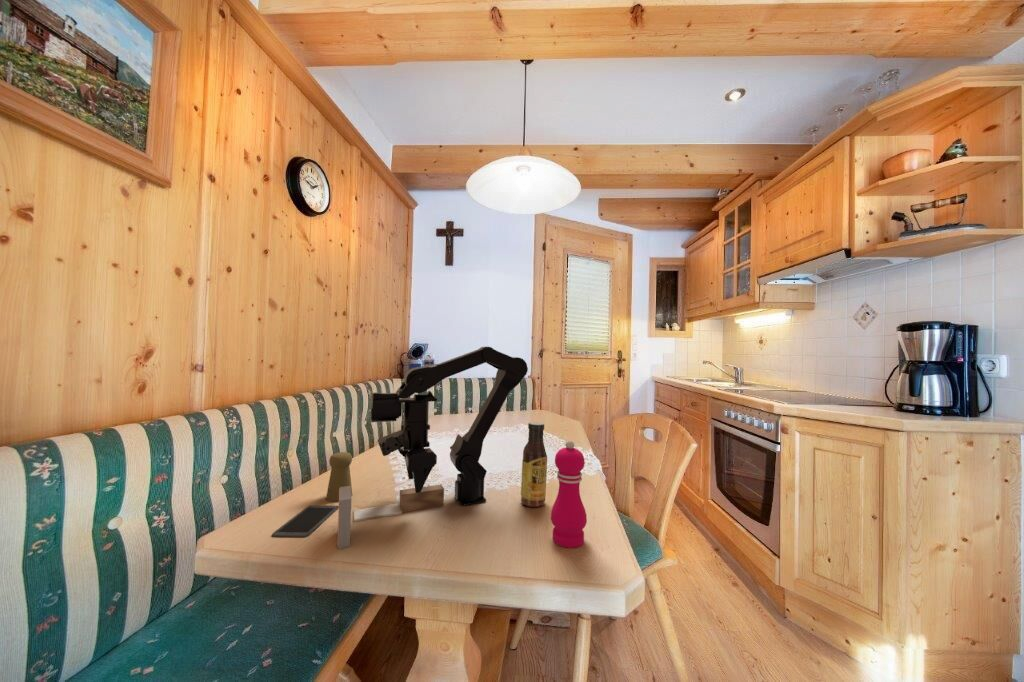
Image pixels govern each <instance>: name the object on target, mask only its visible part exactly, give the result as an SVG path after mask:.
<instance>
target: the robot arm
mask: <svg viewBox="0 0 1024 682" xmlns="http://www.w3.org/2000/svg"><path fill="white" fill-rule="evenodd" d="M483 364H487V365H489V366H491V367H493V368H494V369H497V370H496V375H495V379H494V384H493V387H492V388H491V390H490V391H489V393H488V396H487V397H486V399H485V401H484V403H483V405H482V406H481V408H480V409H479V411H478V414H476V416H475V419H474V421H473V423H472V424H471V426H470V428H469V430H468V431H467V432H466V433H464V435H463V436H461V435H460V434H459V433H458V434H457V435H456V437H455V439H454V440H455V441H454V442H453V444H451V446H450V447H449V449H450V452H449V459H450V461H451V463H452V464H453V466H454V467H455V469H456V470H457V471H458V472H459V473H457V475H456V476H457V477H456V480H455V481H454V498H455V500H456V501H458V503H459V505H461V506H468V505H474V504H475V505H476V504H480V503H486V502H487V499H486V497H485V496H484V495H485V494H484V493H485V478H486V475H487V472H488V471H487V470H486V468H485V467H484V466H483V465H482V464H481V463H480V462H479V461H480V458H481V455H482V451H483V443H484V441H485V439H486V436H487V435H488V433H489V431H490V429H491V427H492V425H493V423H494V422H495V420H496V418H497V416H498V414H499V413H500V410H501V409H502V407H503V405H504V403H505V401H506V400H507V398H508V396H509V394H510V393H511V392H512V391H513V390H514V389H515V388H516V387H517V386H518V385H519V384H520V383H521V382H522V380H524V378H525V377H526V375H527V374H528V370H529V367H528V363H527V362H526V360H525V359H523V358H522V357H518V356H517V357H516V356H515V357H514V356H510V355H508V354H505V353H503V352H500V351H499V350H497V349H494V348H493V347H492V346H480V347H479V348H478V349H476V350H473V351H470V352H467V353H465V354H462V355H458V356H457V357H453V358H450V359H447V360H445V361H442V362H440V363H435V364H429V365H422V366H418V367H412V368H410V369H408V370H407V371H406V373H405V375H404V378H403V381H404V382H402V384H401V385H400V387H398V388H397V390H396V392H377V391H376V392H373V393H372V403H371V407H370V411H371V412H370V423H384V422H397V421H398V420H397V419H399V418H400V417H402V412H403V422H402V423H401V425H400V429H399V430H397V431H395V432H392V433H389V434H386V435H384V436H382V437H380V438H379V439H377V444H378V445H379V448H380V451H381V454H382V456H383V457H386V456H389V455H390V454H391V453H393V452H396V451H398V452H399V454H401V455H402V456H403V458H404V461H405V466H406V472H407V475H408V480H413V484H414V488H415V492H416V493H420V492H421V490H422V488H423V487H425V486H424V485H425V483H426V481H427V480H428V478H429V475H430V473H431V471H432V470H433V468H434V467H435V466H436V465H437V464H438V463H437V462H438V461H437V459H438V458H437V457H438V456H437V454H436V452H434V450H432V449H431V448H430V444H431V443H430V441H429V431H430V430H431V425H430V424H429V410H430V408H429V406H430V405H429V404H430V403H429V402H437V401H438V398H437V397H435V396H434V394H433V392H432V391H430V389H431V388H433V387H434V386H436V385H437V384H439V383H440V382H442V381H443V380H445V379H447V378H449V377H451V376H454V375H457V374H459V373H462V372H465V371H467V370H471V369H473V368H475V367H479V366H480V365H483ZM426 391H427V392H426ZM425 392H426V393H425ZM411 396H413V397H411ZM403 403H404V404H403ZM403 406H404V407H403ZM402 410H403V411H402Z"/></svg>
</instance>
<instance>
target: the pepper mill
mask: <svg viewBox="0 0 1024 682" xmlns="http://www.w3.org/2000/svg"><path fill="white" fill-rule="evenodd" d="M554 457H555V458H554V464H555V467H556V468H557V469H558V470H557V471H556V474H557V475H556V479H557V480H558V485H559V486H558V492H557V495H556V499H555V500H554V503H553V504H552V509H551V511H550V521H551V523H552V525H553V526H554V527H553V528H552V540H553V542H554V543H555V544H556V543H557V544H556V545H558V546H560V547H562V546H563V548H566V547H568V549H569V548H570V549H574V548H575V547H576V548H579V547H581V546H582V545H583V544H584V542H585V531H584V529H585V527H586V525H587V521H588V520H587V519H588V518H587V513H586V512H587V511H586V508H585V506H584V503H583V501H582V498H581V494H580V493H581V492H580V485H581V484H580V483H581V482H582V480H583V479H582V476H583V473H582V472H581V471H582V470H584V467H585V465H586V464H585V463H586V462H585V456H584V454H583V452H582V451H580V450H579V449H578V448H576V447H575V443H574V441H573V440H571V439H569V440H568V439H567V441H566V442H565V447H562V448H561V449H559V450H558V451H557V452H556V454H555V456H554ZM576 548H575V549H576Z"/></svg>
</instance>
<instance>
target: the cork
mask: <svg viewBox="0 0 1024 682" xmlns="http://www.w3.org/2000/svg"><path fill="white" fill-rule="evenodd" d="M352 461H353V457H352V454H351V453H350V452H347V451H340V452H339V451H338V452H336V453H332V455H330V457H329V461H328V463H329V466H330V467H331V468H330V475H329V480H328V486H327V490H326V491H327V492H326V498H325V500H326V501H327V502H330V503H337V502H338V503H339V489H340V487H345V486H351V498H352V497H353V487H352V478H351V468H350V467H351V464H352Z"/></svg>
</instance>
